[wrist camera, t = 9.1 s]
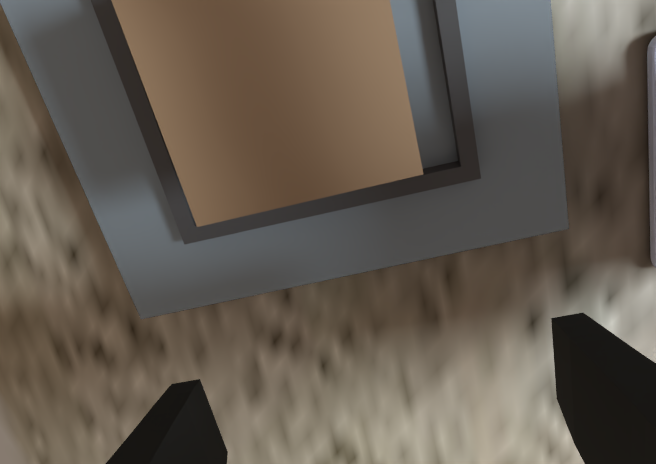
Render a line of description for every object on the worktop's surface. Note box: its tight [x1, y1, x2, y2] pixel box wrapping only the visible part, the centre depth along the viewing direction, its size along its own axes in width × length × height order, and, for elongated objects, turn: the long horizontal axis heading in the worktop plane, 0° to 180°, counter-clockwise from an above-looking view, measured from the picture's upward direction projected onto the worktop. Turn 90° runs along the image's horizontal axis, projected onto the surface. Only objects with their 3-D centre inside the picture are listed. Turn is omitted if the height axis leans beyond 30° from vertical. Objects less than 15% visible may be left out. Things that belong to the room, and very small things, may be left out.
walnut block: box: [111, 0, 423, 227], centre depth 14 cm, size 5×5×5 cm
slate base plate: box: [0, 0, 569, 319], centre depth 17 cm, size 14×14×2 cm
